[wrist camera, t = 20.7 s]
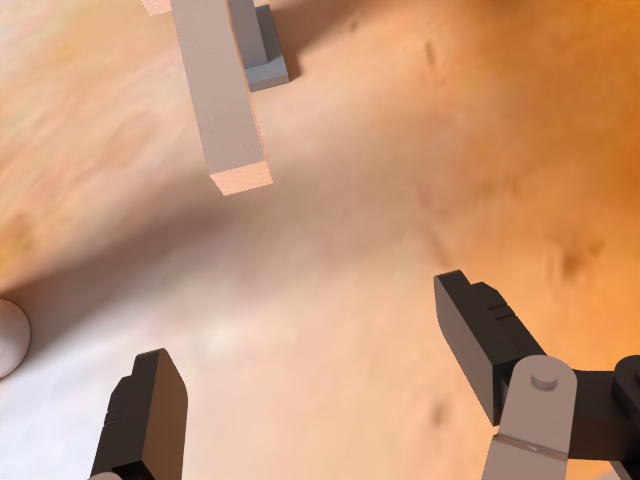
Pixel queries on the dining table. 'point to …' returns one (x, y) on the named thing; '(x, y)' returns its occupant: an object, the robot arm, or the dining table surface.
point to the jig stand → (258, 45)
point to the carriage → (219, 93)
